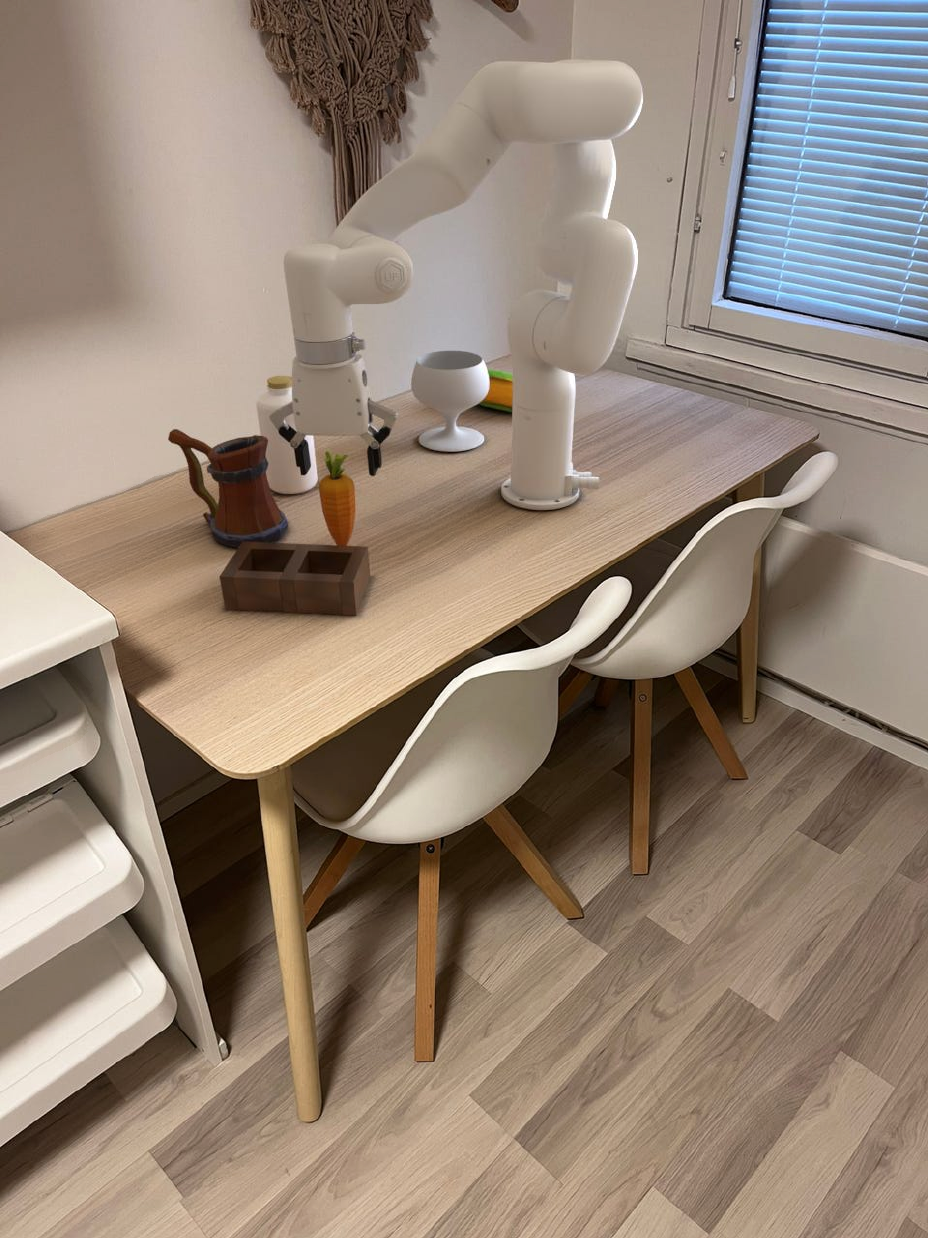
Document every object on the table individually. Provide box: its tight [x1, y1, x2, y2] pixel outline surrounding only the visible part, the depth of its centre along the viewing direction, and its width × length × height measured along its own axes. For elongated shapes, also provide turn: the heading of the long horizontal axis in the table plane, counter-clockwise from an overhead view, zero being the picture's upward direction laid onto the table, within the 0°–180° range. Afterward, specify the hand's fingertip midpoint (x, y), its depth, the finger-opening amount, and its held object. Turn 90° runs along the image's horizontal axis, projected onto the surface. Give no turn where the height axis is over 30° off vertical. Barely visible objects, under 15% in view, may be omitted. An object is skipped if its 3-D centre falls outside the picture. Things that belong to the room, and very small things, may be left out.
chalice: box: [410, 350, 490, 452], centre depth 162 cm, size 14×14×15 cm
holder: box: [219, 542, 371, 617], centre depth 119 cm, size 17×10×5 cm, turn 84°
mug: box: [167, 428, 289, 549], centre depth 133 cm, size 18×12×15 cm, turn 63°
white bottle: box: [256, 375, 319, 495], centre depth 145 cm, size 8×8×18 cm
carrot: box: [318, 450, 356, 546], centre depth 127 cm, size 5×5×15 cm
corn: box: [477, 368, 513, 413], centre depth 178 cm, size 7×8×20 cm
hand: (340, 471), depth 125 cm, fingers open, 9 cm apart
